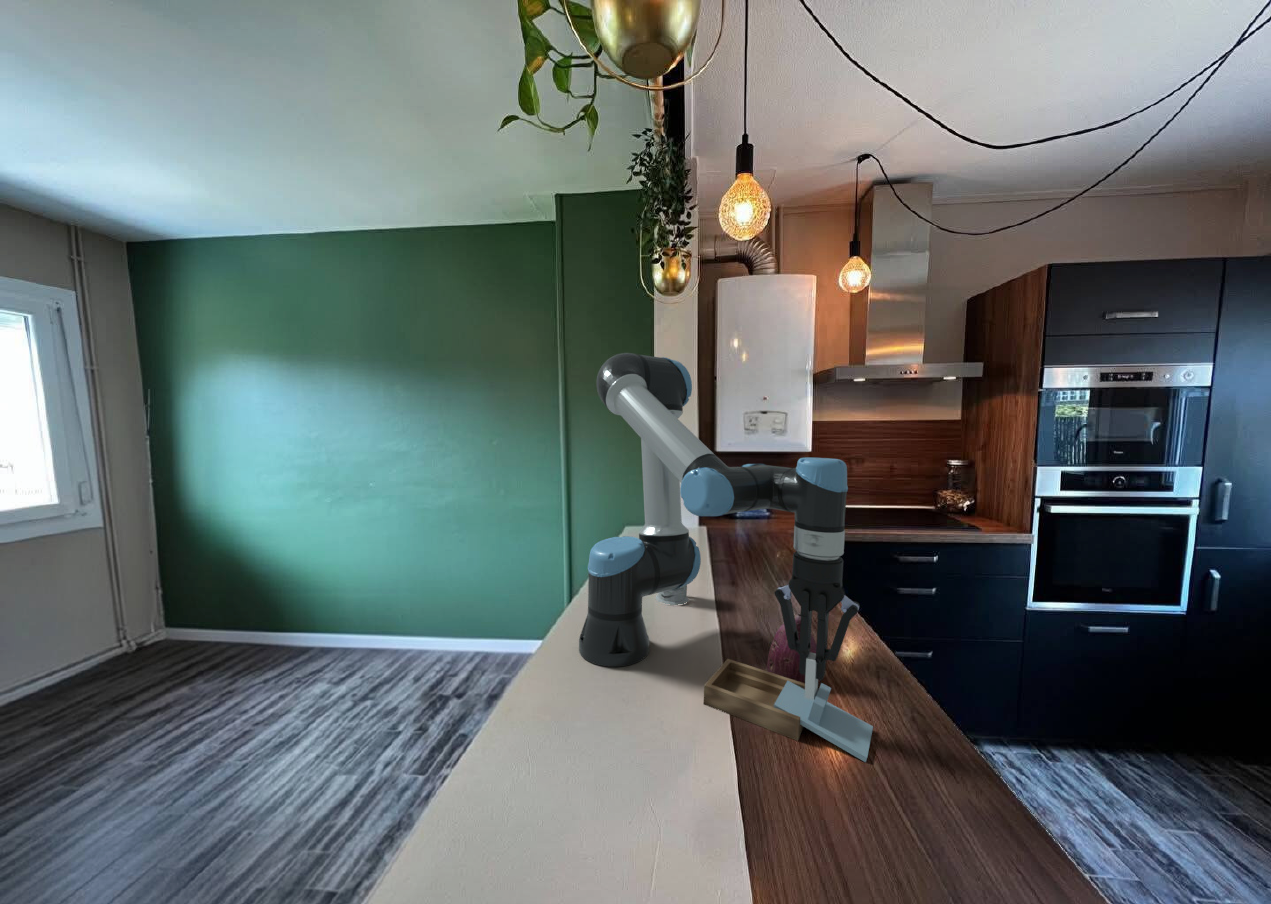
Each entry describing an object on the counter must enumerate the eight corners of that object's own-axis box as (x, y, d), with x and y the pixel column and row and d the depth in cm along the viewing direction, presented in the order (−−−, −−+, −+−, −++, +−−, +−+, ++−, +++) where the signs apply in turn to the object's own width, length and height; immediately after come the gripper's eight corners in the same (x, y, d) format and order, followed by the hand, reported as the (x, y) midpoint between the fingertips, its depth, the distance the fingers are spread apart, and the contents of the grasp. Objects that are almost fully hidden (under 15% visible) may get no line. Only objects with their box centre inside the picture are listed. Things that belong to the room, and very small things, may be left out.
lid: (772, 708, 73) (779, 687, 72) (786, 684, 80) (792, 664, 79) (865, 762, 66) (873, 739, 65) (871, 730, 73) (879, 709, 72)
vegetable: (822, 705, 84) (842, 641, 79) (765, 690, 86) (782, 627, 81) (814, 664, 94) (832, 605, 89) (763, 652, 96) (778, 593, 91)
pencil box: (703, 704, 78) (704, 685, 78) (727, 675, 88) (727, 658, 87) (798, 741, 70) (799, 720, 70) (813, 705, 79) (814, 686, 79)
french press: (651, 592, 130) (654, 507, 129) (691, 592, 131) (694, 507, 130) (657, 606, 120) (660, 514, 119) (699, 605, 122) (702, 514, 120)
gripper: (770, 551, 73) (764, 692, 74) (859, 567, 66) (851, 722, 67) (783, 542, 79) (777, 672, 80) (865, 555, 72) (857, 697, 73)
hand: (811, 695), depth 74 cm, fingers closed
